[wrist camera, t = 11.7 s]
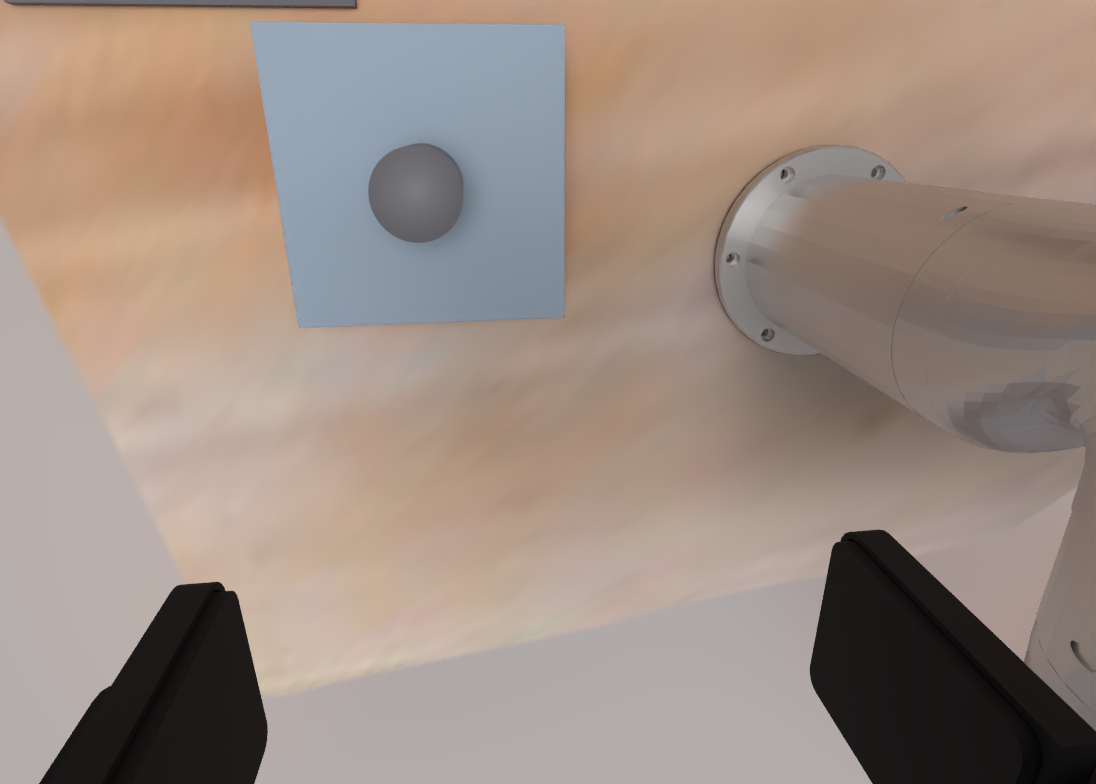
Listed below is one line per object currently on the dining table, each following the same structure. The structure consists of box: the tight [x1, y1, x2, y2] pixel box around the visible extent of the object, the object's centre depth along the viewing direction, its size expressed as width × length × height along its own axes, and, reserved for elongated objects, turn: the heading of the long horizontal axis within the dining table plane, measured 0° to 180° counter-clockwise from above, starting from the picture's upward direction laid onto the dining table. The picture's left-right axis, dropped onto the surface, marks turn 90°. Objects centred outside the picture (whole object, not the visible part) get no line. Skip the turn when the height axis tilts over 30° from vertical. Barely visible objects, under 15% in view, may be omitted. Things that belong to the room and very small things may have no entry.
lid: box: [250, 22, 565, 328], centre depth 28 cm, size 13×13×6 cm
